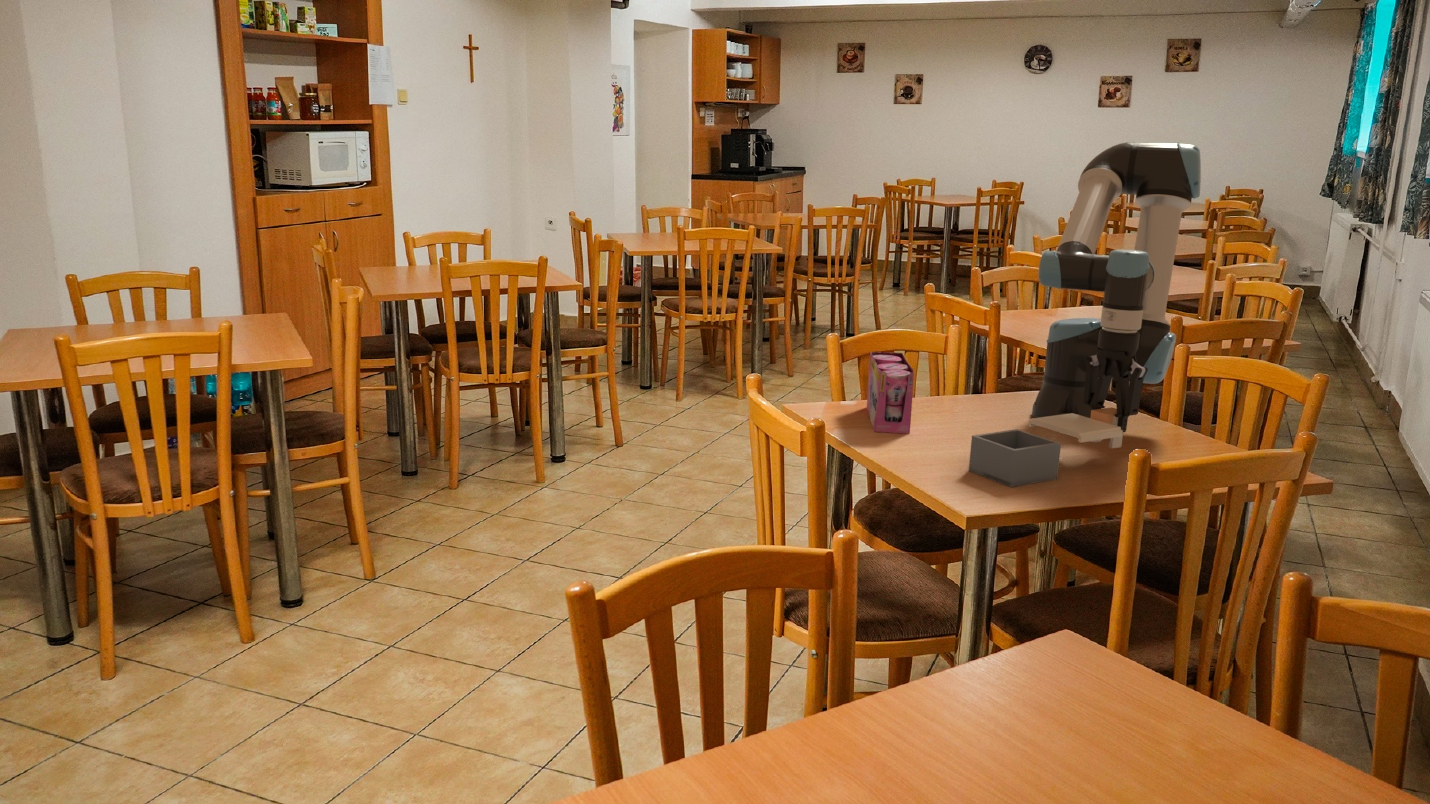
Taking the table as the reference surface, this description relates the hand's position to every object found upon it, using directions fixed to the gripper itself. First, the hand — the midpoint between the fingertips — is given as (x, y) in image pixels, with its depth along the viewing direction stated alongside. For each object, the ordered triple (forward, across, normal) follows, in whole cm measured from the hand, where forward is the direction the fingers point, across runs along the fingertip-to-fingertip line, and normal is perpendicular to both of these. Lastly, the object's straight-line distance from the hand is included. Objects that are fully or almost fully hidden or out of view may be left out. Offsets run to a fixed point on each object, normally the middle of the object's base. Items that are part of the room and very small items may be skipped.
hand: (1105, 444), depth 213 cm
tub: (+3, 0, -25) cm, 26 cm away
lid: (-3, 0, -6) cm, 7 cm away
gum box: (+3, -43, -21) cm, 48 cm away
